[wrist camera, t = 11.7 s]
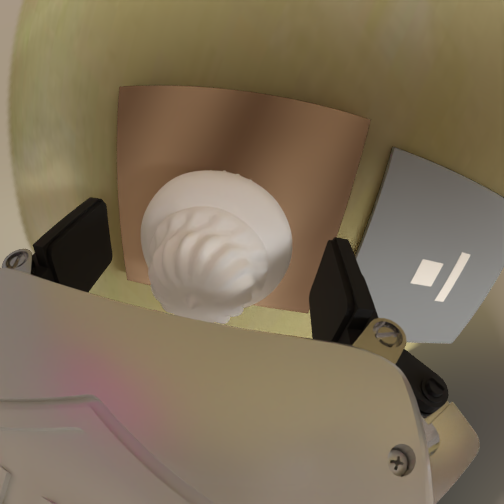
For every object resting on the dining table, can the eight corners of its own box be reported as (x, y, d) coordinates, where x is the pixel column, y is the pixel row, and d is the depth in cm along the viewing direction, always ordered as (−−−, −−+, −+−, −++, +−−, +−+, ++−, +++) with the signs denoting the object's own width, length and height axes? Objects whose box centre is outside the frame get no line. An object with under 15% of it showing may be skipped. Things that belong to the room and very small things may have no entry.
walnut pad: (363, 117, 12) (370, 119, 11) (306, 300, 18) (307, 313, 17) (130, 86, 11) (119, 86, 10) (134, 269, 18) (127, 279, 17)
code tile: (526, 212, 12) (529, 213, 12) (450, 340, 20) (451, 343, 20) (392, 146, 12) (394, 147, 12) (320, 332, 20) (320, 335, 20)
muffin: (149, 178, 13) (67, 253, 7) (262, 130, 11) (246, 174, 6) (202, 272, 16) (166, 373, 10) (304, 243, 14) (317, 352, 9)
